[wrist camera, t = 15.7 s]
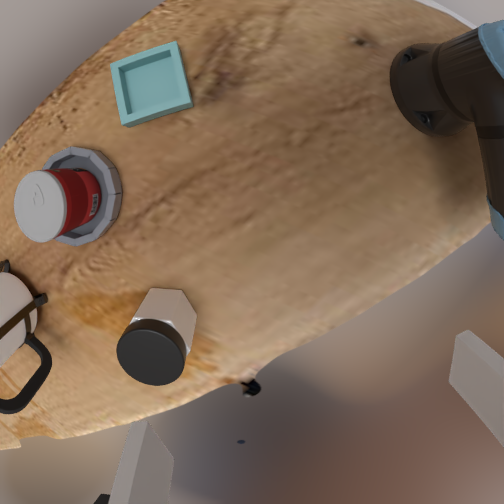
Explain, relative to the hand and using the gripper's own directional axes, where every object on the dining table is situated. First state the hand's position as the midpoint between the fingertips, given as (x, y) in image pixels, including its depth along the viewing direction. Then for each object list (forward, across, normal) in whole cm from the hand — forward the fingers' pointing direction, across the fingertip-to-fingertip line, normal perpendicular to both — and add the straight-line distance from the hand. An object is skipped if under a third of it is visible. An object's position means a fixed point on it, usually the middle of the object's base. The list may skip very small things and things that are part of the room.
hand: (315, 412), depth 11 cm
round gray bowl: (+32, -22, +12) cm, 40 cm away
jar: (+32, -15, -8) cm, 36 cm away
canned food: (+31, -22, +12) cm, 40 cm away
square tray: (+32, -8, +23) cm, 40 cm away
